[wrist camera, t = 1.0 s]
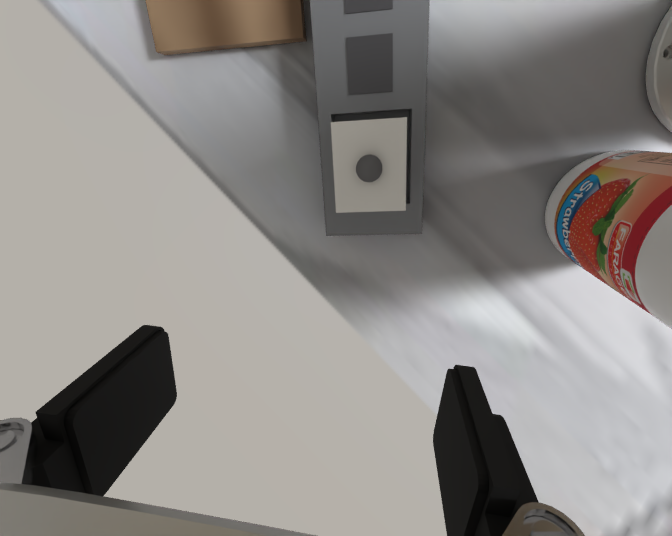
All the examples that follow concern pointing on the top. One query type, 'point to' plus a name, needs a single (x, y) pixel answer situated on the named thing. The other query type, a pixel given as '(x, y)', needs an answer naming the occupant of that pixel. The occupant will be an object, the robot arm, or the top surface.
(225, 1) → the walnut mat
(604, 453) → the top surface
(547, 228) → the fruit juice
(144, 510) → the robot arm
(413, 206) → the power strip
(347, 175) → the block
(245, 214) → the top surface
